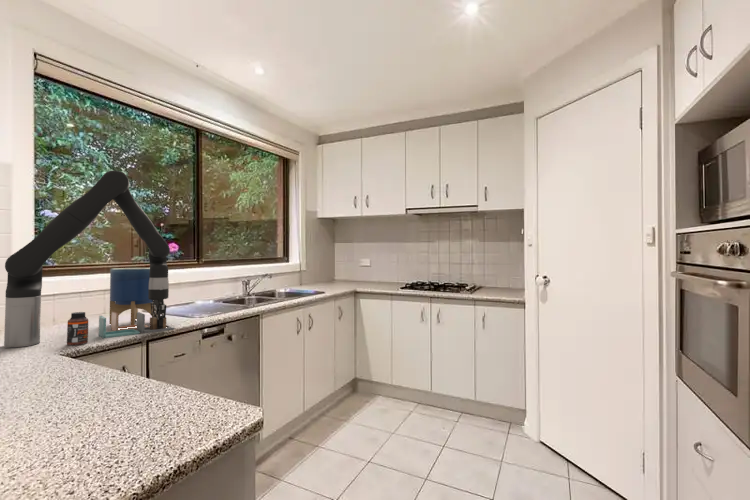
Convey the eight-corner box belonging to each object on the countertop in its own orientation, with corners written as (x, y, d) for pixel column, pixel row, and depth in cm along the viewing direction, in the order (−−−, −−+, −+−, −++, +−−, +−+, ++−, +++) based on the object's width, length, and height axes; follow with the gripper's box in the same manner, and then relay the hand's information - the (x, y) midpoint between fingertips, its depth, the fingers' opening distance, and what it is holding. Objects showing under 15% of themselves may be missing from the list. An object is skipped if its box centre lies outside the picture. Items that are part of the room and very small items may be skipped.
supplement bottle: (78, 345, 130) (79, 313, 130) (62, 345, 130) (62, 313, 130) (92, 342, 136) (92, 311, 136) (76, 342, 136) (76, 311, 136)
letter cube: (153, 330, 154) (153, 318, 154) (149, 329, 158) (149, 316, 158) (166, 329, 158) (166, 316, 158) (162, 327, 161) (162, 315, 161)
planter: (106, 329, 161) (107, 269, 161) (112, 322, 177) (113, 268, 178) (157, 325, 170) (158, 268, 170) (158, 319, 187) (159, 267, 187)
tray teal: (103, 339, 140) (103, 318, 140) (98, 335, 146) (99, 315, 147) (139, 334, 149) (139, 314, 149) (133, 331, 155) (134, 312, 155)
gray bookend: (142, 334, 149) (142, 314, 150) (136, 331, 156) (136, 312, 156) (174, 330, 158) (174, 311, 158) (167, 327, 164) (167, 309, 165)
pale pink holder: (115, 333, 152) (116, 313, 152) (111, 330, 158) (111, 311, 158) (148, 329, 160) (149, 310, 161) (143, 326, 167) (143, 308, 167)
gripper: (144, 287, 160) (143, 326, 160) (153, 289, 150) (153, 331, 150) (163, 286, 166) (162, 324, 165) (173, 288, 156) (173, 328, 155)
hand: (158, 327), depth 158 cm, fingers closed on letter cube, 5 cm apart
